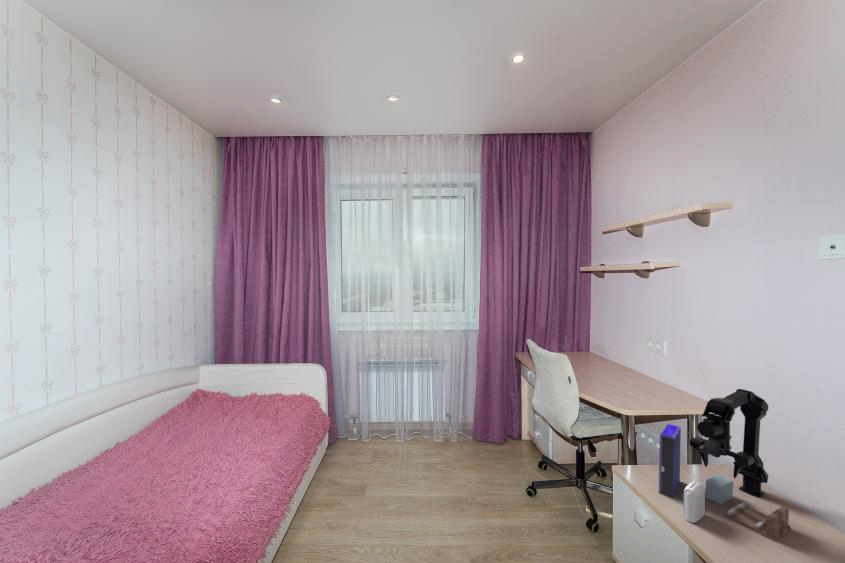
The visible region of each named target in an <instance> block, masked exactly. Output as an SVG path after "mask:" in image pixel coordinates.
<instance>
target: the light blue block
mask: <svg viewBox="0 0 845 563" xmlns="http://www.w3.org/2000/svg"><path fill="white" fill-rule="evenodd" d="M733 493H734V481H733V480H732V479H730V478H727V477H724V476H722V475H720V474H716V475H714V476H713V477H710V478H708V479H706V480H705V499H706V498H707V499H709V500H711V501H713V502H715V503H717V504H719V505H722V504H724V503H726V502H727V501H729V500H731V499H733V497H734V496H733Z"/></svg>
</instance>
